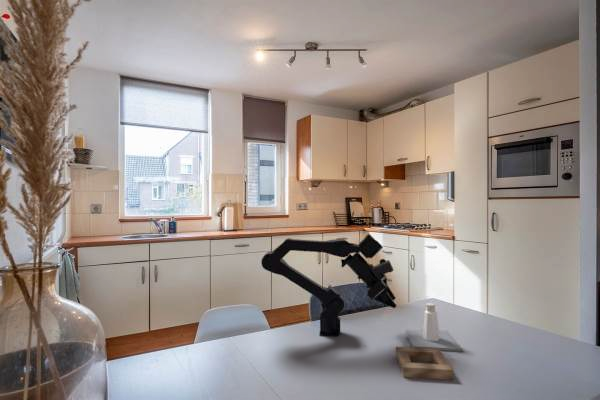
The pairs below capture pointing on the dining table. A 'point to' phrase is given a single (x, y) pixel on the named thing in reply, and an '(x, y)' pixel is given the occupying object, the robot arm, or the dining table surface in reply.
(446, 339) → the slate grey mat
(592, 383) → the dining table surface
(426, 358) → the walnut collar
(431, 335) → the pepper shaker
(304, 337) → the dining table surface
